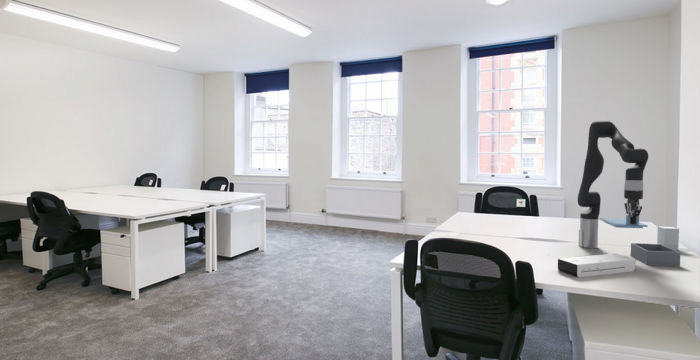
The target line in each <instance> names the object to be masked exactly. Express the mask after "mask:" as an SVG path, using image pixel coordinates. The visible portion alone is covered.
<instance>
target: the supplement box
mask: <svg viewBox="0 0 700 360" xmlns="http://www.w3.org/2000/svg"><path fill="white" fill-rule="evenodd" d="M679 234H680V228H677V227H673V226H657V238H656V239H657V241H656V244H662V245H664V246H666V247H669V248H671V249H673V250H676V251H679V245H680V244H679V240H680V235H679Z"/></svg>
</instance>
